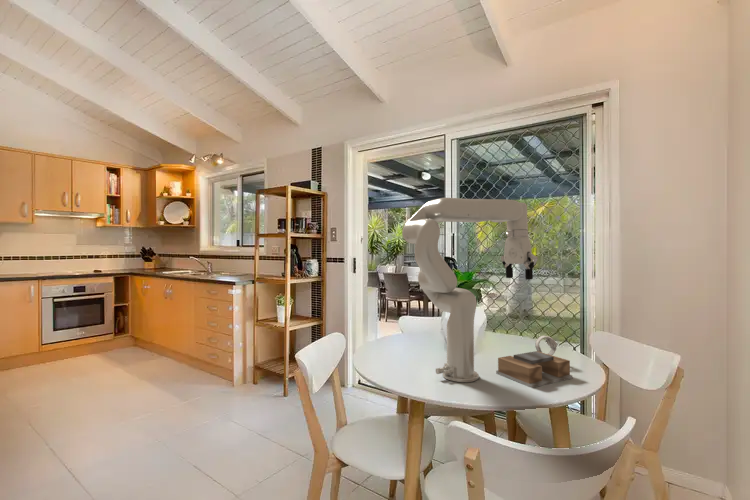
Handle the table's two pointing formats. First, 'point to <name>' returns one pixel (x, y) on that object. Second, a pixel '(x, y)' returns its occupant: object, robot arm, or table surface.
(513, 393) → the table surface
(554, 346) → the watch
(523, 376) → the watch stand
